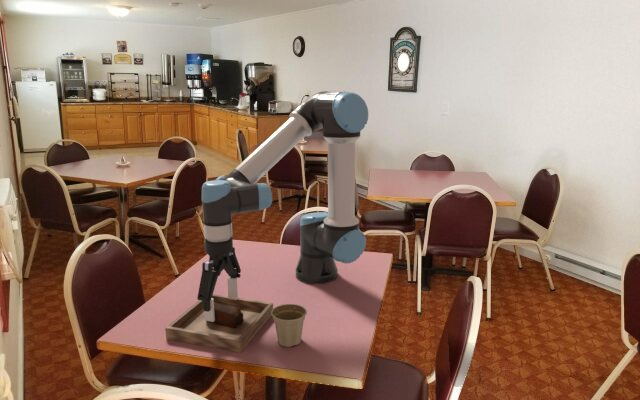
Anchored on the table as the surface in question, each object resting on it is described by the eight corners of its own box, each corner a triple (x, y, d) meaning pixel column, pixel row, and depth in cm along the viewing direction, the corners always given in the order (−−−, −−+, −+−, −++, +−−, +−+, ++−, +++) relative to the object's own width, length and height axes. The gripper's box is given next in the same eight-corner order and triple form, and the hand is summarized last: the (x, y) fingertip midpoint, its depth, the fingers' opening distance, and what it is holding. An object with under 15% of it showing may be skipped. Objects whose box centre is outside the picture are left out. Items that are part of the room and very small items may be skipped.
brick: (204, 322, 131) (203, 307, 129) (212, 315, 134) (211, 301, 133) (236, 329, 127) (235, 314, 126) (244, 323, 130) (243, 308, 129)
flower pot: (272, 332, 127) (271, 303, 125) (305, 331, 128) (305, 302, 126) (271, 351, 118) (270, 321, 116) (307, 350, 119) (307, 319, 117)
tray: (273, 313, 138) (273, 303, 137) (240, 352, 117) (239, 341, 117) (208, 303, 144) (207, 293, 143) (166, 338, 123) (165, 327, 123)
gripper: (227, 223, 137) (230, 289, 142) (179, 251, 114) (185, 328, 119) (250, 226, 135) (252, 292, 140) (206, 254, 112) (211, 333, 117)
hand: (221, 309), depth 129 cm, fingers open, 13 cm apart
